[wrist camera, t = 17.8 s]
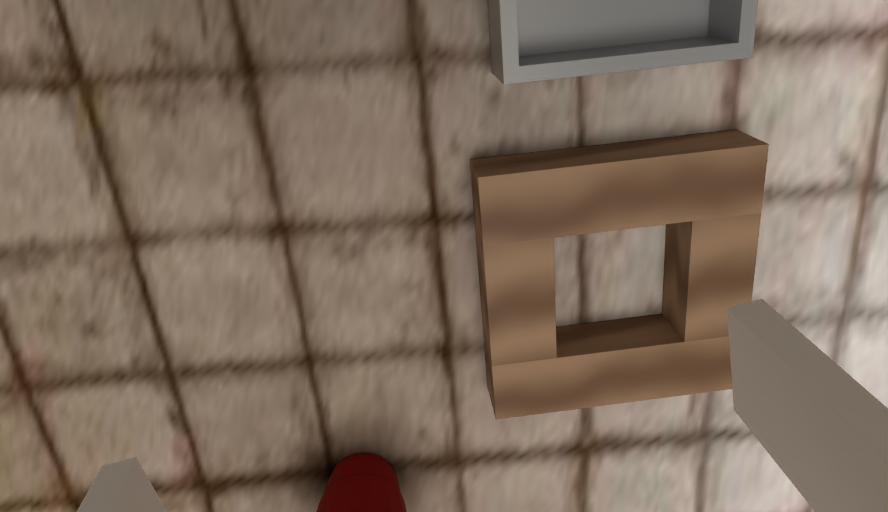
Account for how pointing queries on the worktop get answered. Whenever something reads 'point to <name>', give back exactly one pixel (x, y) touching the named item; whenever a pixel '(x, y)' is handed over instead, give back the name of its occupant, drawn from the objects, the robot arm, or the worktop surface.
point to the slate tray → (614, 35)
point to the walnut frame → (606, 209)
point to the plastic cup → (362, 486)
